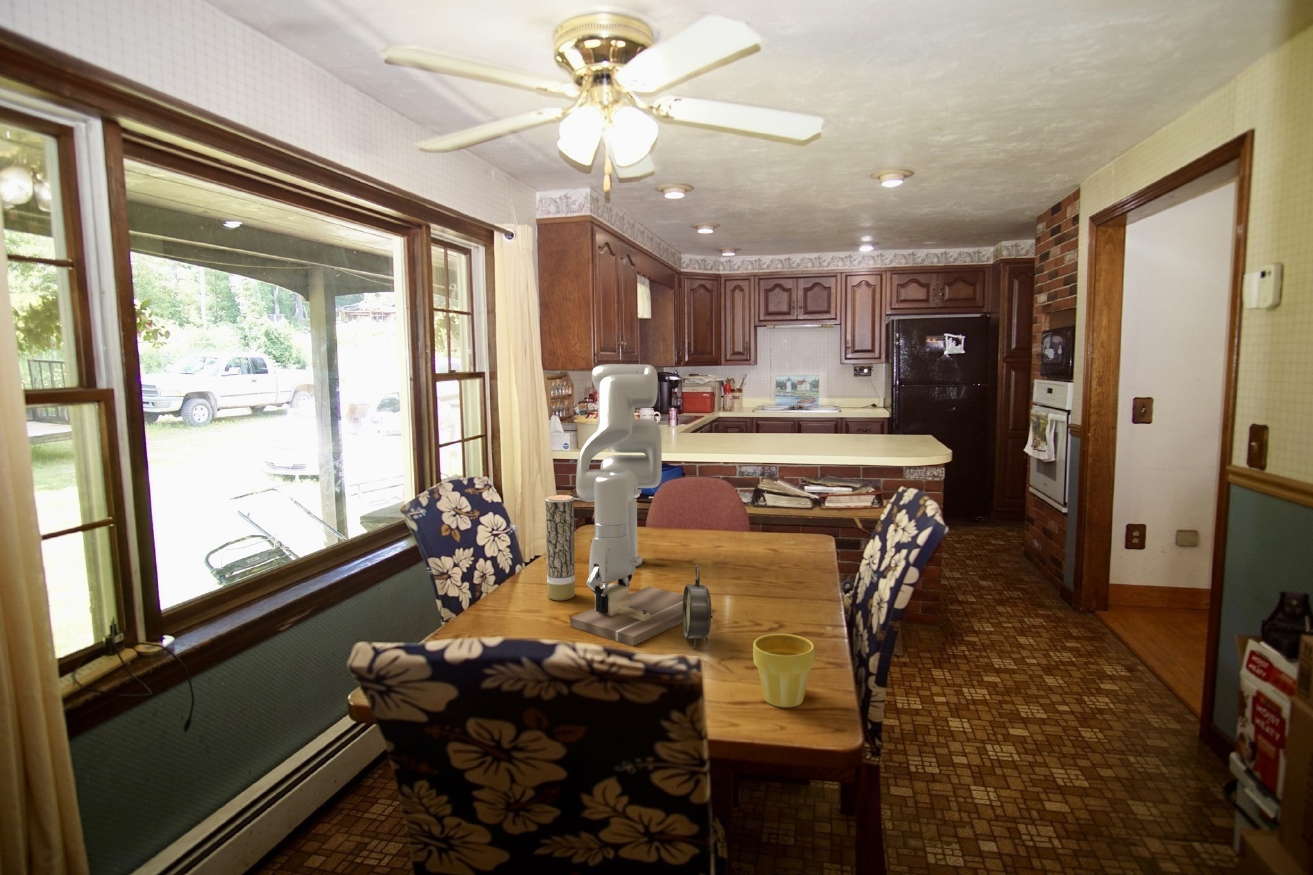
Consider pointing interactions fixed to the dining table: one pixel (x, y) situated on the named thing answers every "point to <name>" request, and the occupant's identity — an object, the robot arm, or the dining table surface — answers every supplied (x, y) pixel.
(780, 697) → the plant pot
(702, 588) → the alarm clock
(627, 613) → the cream square mallet
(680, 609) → the wooden cutting board
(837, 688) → the dining table surface
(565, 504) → the paper tube
